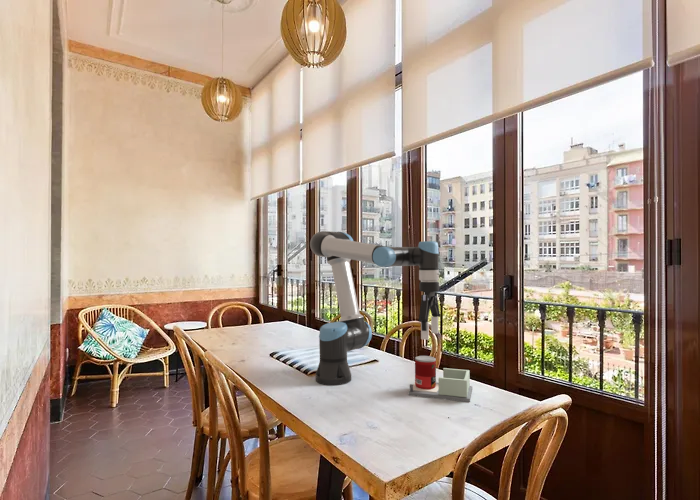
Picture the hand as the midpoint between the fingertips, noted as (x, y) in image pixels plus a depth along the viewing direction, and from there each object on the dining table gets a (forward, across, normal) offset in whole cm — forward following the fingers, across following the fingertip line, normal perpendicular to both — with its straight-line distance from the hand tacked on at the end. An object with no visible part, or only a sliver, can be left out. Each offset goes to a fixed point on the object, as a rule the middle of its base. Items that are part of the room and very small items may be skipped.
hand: (430, 336), depth 160 cm
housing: (+20, +1, -9) cm, 22 cm away
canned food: (+20, 0, +2) cm, 20 cm away
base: (+21, +1, -4) cm, 22 cm away
